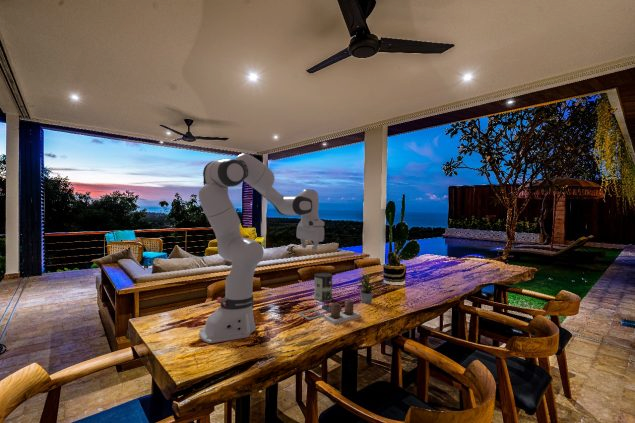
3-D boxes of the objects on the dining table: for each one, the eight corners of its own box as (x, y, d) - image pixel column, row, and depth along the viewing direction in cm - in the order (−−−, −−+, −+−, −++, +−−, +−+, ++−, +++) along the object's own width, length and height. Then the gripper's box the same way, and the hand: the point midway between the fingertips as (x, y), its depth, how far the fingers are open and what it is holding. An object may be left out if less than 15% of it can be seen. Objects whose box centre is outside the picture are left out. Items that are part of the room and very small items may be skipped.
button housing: (330, 314, 145) (330, 309, 145) (321, 310, 150) (321, 305, 150) (341, 312, 149) (341, 307, 149) (332, 307, 154) (332, 303, 154)
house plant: (347, 299, 169) (348, 271, 169) (369, 297, 173) (370, 269, 173) (358, 307, 155) (359, 276, 155) (382, 305, 160) (382, 275, 159)
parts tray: (308, 322, 135) (308, 318, 135) (298, 315, 142) (298, 312, 142) (324, 318, 140) (324, 314, 140) (313, 312, 147) (313, 309, 147)
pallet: (333, 326, 131) (333, 320, 131) (324, 321, 136) (324, 315, 136) (360, 319, 140) (360, 313, 140) (350, 314, 146) (350, 309, 146)
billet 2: (348, 318, 138) (348, 303, 137) (342, 315, 141) (343, 301, 141) (354, 316, 140) (355, 302, 140) (349, 314, 143) (349, 299, 143)
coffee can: (333, 297, 173) (333, 273, 173) (330, 302, 163) (331, 277, 163) (316, 295, 175) (316, 272, 175) (312, 301, 165) (312, 275, 165)
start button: (331, 310, 148) (331, 304, 148) (327, 308, 150) (327, 303, 150) (335, 309, 149) (335, 303, 149) (332, 307, 152) (332, 302, 151)
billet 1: (335, 322, 133) (335, 306, 133) (329, 319, 136) (329, 304, 136) (341, 319, 135) (341, 304, 135) (336, 317, 139) (336, 302, 138)
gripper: (293, 220, 157) (293, 246, 157) (316, 222, 140) (315, 252, 140) (303, 220, 160) (303, 246, 161) (326, 222, 144) (326, 251, 144)
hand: (309, 248), depth 150 cm, fingers open, 8 cm apart
